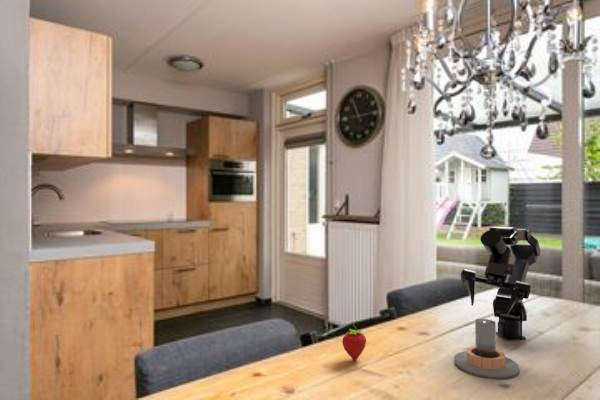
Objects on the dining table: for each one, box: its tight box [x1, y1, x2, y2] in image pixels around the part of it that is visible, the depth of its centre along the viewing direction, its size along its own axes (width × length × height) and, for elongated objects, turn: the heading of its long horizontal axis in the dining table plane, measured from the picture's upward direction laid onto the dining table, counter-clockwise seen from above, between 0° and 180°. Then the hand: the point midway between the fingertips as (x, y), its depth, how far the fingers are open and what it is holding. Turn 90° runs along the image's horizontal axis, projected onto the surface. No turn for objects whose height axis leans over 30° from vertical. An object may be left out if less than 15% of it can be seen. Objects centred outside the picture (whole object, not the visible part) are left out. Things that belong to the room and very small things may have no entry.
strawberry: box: [342, 325, 367, 361], centre depth 111 cm, size 6×8×10 cm
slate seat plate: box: [453, 345, 520, 380], centre depth 106 cm, size 16×16×4 cm
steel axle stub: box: [474, 318, 497, 358], centre depth 106 cm, size 5×5×11 cm
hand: (489, 309), depth 114 cm, fingers open, 9 cm apart
